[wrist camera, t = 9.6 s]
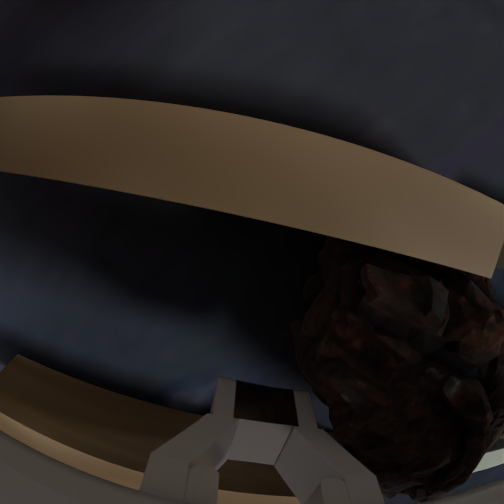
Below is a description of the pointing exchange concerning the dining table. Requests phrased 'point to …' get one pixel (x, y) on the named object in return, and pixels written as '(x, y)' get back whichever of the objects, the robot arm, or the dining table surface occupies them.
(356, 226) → the oak channel
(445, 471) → the dark piece
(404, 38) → the dining table surface
